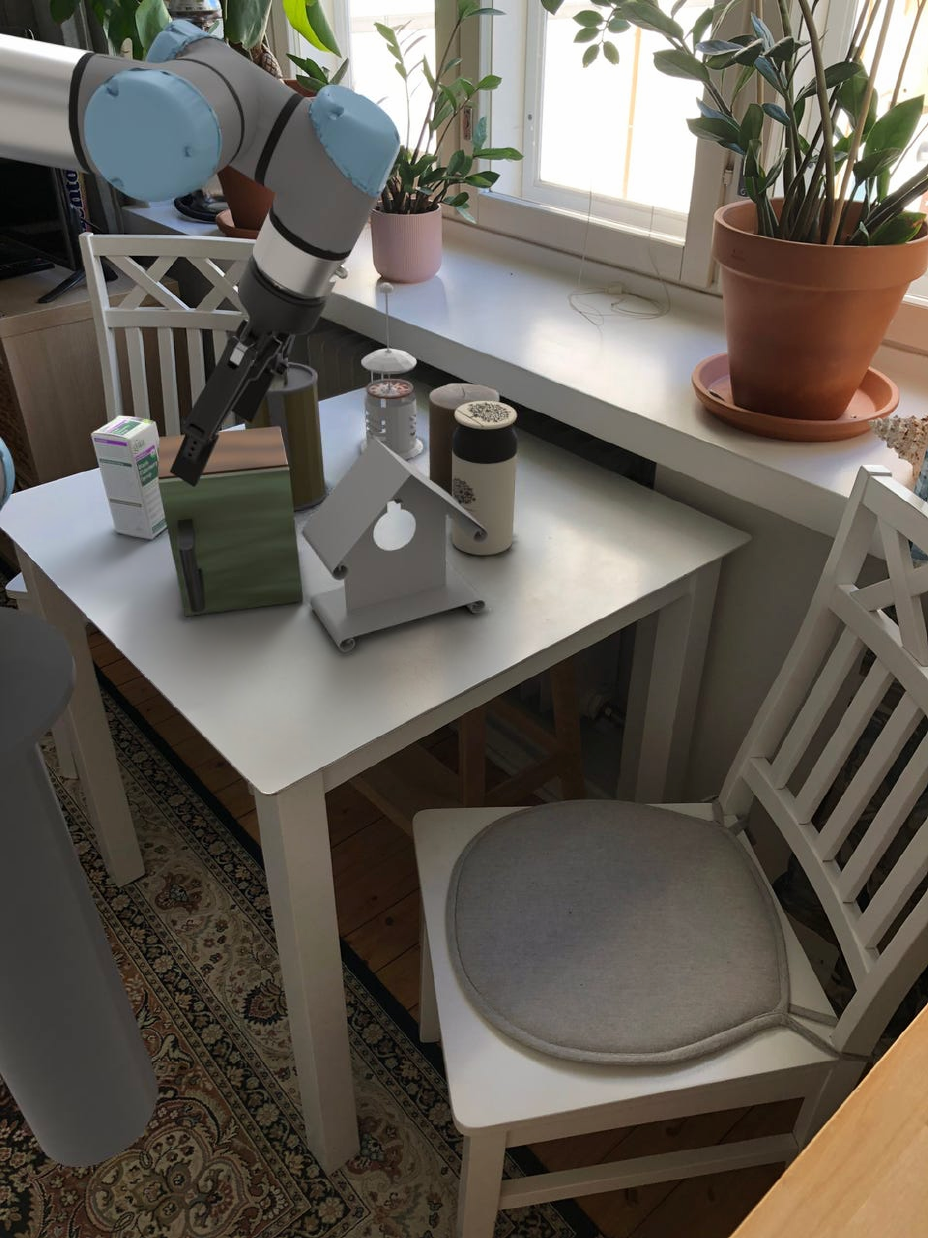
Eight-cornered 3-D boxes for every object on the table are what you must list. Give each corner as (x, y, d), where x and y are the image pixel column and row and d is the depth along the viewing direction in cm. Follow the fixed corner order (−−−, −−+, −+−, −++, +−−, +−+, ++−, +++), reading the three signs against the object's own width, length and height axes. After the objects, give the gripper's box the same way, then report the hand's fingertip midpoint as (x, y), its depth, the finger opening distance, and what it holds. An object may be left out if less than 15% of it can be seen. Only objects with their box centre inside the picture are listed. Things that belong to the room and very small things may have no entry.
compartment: (302, 597, 111) (288, 464, 100) (185, 612, 108) (157, 476, 98) (294, 553, 119) (279, 426, 108) (184, 566, 116) (159, 436, 105)
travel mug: (494, 520, 126) (499, 395, 115) (523, 548, 120) (531, 419, 110) (441, 533, 123) (441, 405, 112) (468, 563, 117) (471, 431, 107)
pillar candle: (450, 508, 129) (451, 406, 120) (417, 479, 135) (415, 381, 127) (509, 491, 133) (514, 392, 124) (474, 464, 139) (476, 368, 131)
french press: (370, 465, 139) (361, 296, 124) (349, 434, 148) (339, 272, 133) (432, 455, 142) (430, 289, 127) (408, 425, 150) (404, 266, 136)
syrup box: (152, 541, 121) (130, 438, 112) (114, 532, 122) (89, 431, 114) (177, 520, 125) (157, 419, 116) (139, 512, 127) (117, 413, 118)
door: (309, 632, 105) (295, 497, 95) (185, 649, 102) (157, 512, 92) (302, 597, 110) (288, 466, 100) (185, 612, 108) (158, 479, 97)
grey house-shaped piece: (339, 653, 102) (325, 492, 90) (309, 609, 109) (293, 453, 97) (485, 610, 109) (490, 455, 97) (449, 571, 116) (450, 421, 104)
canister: (255, 477, 135) (237, 343, 123) (327, 475, 136) (316, 341, 124) (250, 515, 126) (230, 373, 115) (326, 511, 127) (315, 371, 116)
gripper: (273, 354, 73) (191, 529, 87) (371, 253, 92) (291, 410, 105) (189, 299, 72) (119, 486, 85) (306, 208, 91) (233, 373, 104)
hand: (214, 444), depth 95 cm, fingers open, 13 cm apart
